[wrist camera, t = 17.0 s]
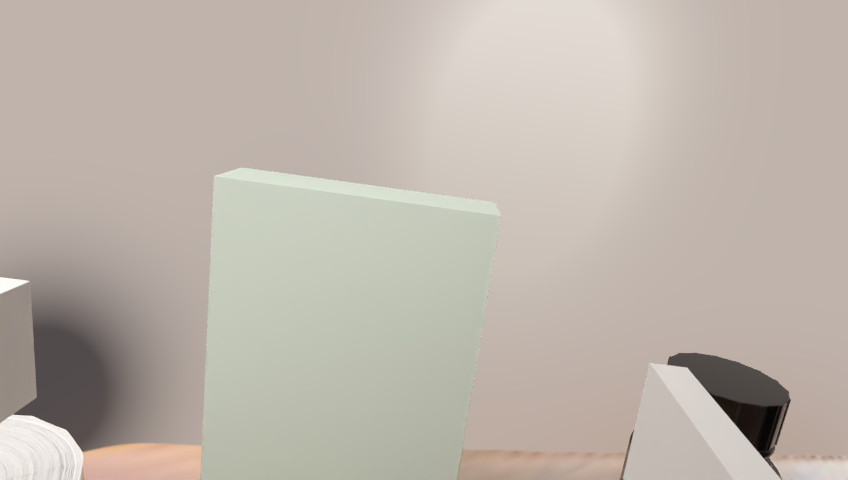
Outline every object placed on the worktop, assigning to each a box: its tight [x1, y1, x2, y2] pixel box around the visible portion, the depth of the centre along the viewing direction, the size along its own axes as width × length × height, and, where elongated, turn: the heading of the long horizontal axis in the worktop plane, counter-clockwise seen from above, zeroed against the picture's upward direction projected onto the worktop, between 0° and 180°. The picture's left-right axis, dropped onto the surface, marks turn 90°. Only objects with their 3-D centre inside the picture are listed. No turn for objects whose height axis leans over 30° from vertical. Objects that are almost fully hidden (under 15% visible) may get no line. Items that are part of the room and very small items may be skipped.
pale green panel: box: [201, 168, 501, 480], centre depth 26 cm, size 11×3×22 cm, turn 87°
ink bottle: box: [620, 353, 791, 480], centre depth 36 cm, size 10×9×12 cm
